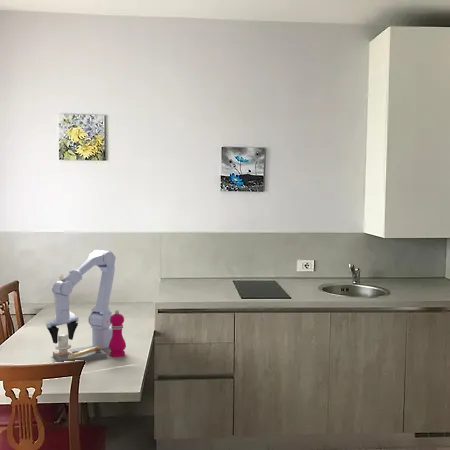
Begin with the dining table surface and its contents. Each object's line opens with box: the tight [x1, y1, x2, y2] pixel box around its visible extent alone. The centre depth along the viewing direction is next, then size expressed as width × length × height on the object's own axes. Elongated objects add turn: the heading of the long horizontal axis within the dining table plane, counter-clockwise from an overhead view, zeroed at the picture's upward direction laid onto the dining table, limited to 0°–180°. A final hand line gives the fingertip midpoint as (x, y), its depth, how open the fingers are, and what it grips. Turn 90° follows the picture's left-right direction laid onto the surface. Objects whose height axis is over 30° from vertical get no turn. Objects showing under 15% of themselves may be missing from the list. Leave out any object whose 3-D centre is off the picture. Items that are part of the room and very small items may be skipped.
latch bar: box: [68, 345, 102, 359], centre depth 236 cm, size 17×2×1 cm, turn 148°
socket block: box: [52, 346, 108, 363], centre depth 241 cm, size 19×14×3 cm
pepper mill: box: [108, 309, 127, 358], centre depth 244 cm, size 7×7×20 cm
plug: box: [54, 333, 72, 354], centre depth 241 cm, size 6×6×7 cm
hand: (63, 341), depth 241 cm, fingers open, 7 cm apart
